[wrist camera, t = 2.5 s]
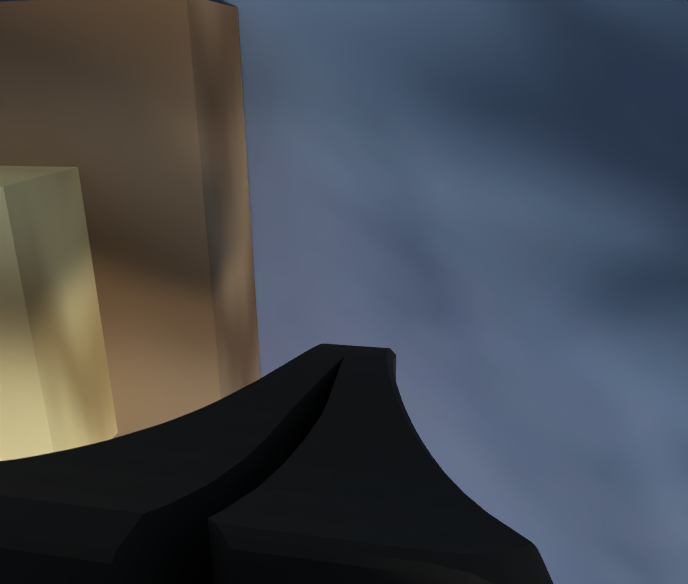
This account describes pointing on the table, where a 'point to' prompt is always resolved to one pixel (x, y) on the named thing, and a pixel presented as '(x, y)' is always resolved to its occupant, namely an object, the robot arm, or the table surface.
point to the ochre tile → (49, 318)
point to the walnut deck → (146, 183)
